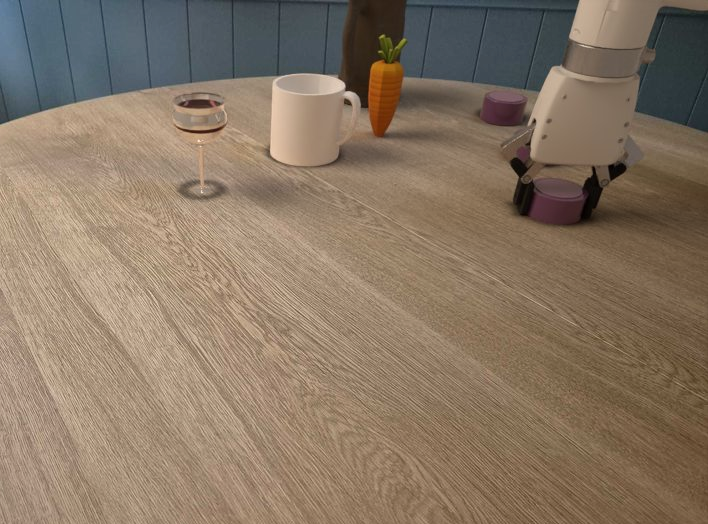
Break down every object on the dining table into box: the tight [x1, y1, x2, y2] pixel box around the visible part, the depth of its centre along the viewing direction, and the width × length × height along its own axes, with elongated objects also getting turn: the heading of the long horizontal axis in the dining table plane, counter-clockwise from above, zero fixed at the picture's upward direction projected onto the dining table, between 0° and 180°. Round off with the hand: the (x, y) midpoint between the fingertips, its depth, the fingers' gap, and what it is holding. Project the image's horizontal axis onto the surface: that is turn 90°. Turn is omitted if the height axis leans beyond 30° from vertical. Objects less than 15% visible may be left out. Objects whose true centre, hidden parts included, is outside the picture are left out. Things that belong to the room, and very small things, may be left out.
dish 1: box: [479, 90, 529, 127], centre depth 109 cm, size 7×7×4 cm
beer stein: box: [337, 0, 408, 108], centre depth 111 cm, size 15×11×20 cm
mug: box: [269, 73, 362, 167], centre depth 93 cm, size 13×10×10 cm
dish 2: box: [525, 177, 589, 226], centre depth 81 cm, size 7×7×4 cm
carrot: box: [368, 35, 409, 138], centre depth 98 cm, size 5×5×15 cm
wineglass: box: [171, 91, 229, 194], centre depth 83 cm, size 7×7×12 cm
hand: (551, 210), depth 82 cm, fingers closed on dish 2, 6 cm apart
